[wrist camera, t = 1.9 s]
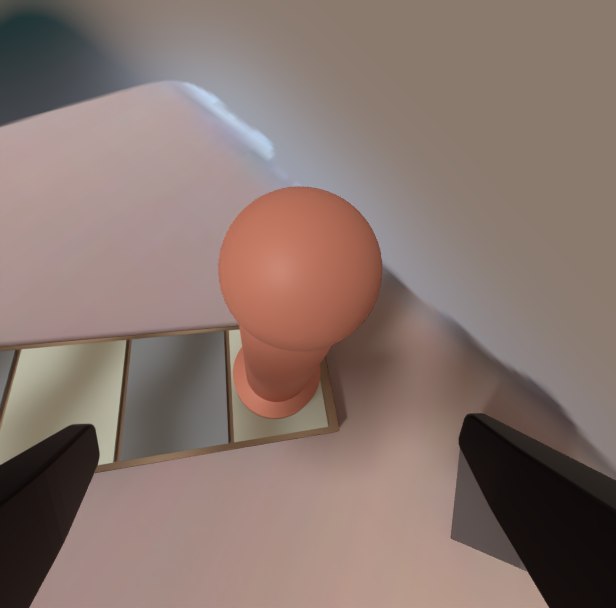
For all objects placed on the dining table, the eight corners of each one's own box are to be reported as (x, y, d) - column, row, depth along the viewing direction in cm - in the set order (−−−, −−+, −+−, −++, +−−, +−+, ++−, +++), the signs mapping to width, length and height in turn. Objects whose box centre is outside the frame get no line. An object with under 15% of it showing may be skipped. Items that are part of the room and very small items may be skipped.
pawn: (277, 438, 16) (333, 396, 4) (217, 378, 17) (123, 205, 5) (331, 374, 18) (470, 224, 6) (274, 323, 19) (303, 109, 7)
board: (315, 324, 21) (318, 318, 20) (335, 431, 18) (340, 430, 17) (-96, 362, 16) (-119, 356, 15) (-162, 517, 13) (-197, 522, 12)
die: (535, 575, 16) (642, 621, 12) (449, 537, 16) (522, 569, 12) (534, 476, 19) (623, 483, 14) (459, 444, 19) (523, 441, 14)
